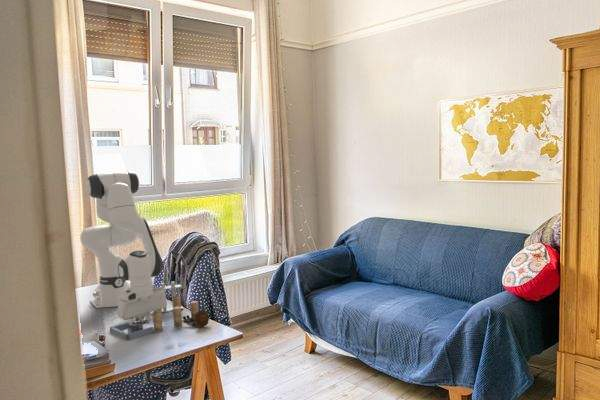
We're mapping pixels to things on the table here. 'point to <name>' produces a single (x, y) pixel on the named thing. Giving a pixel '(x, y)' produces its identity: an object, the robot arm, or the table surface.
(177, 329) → the table surface
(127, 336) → the tray
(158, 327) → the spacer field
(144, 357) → the table surface
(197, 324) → the toy
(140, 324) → the hex nut
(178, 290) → the test tube rack
